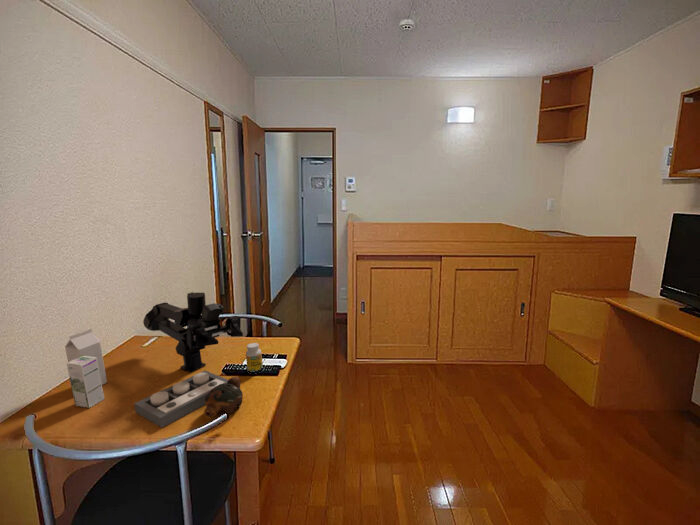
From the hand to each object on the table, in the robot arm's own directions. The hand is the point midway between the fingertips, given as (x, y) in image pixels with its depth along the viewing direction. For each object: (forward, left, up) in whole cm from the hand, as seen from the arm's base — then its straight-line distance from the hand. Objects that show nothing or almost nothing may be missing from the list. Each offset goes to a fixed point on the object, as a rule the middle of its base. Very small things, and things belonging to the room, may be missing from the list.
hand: (230, 338), depth 127 cm
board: (-6, -14, -17) cm, 23 cm away
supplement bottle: (-3, +11, -17) cm, 21 cm away
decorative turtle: (+9, -11, -17) cm, 22 cm away
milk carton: (-43, -26, -17) cm, 53 cm away
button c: (-8, -7, -14) cm, 18 cm away
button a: (-8, -21, -14) cm, 26 cm away
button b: (-8, -14, -14) cm, 21 cm away
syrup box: (-31, -31, -17) cm, 47 cm away
